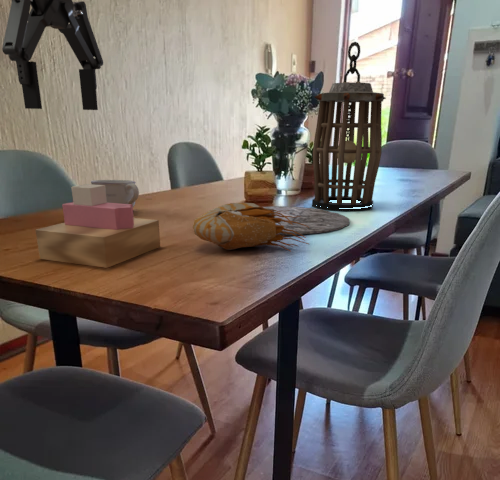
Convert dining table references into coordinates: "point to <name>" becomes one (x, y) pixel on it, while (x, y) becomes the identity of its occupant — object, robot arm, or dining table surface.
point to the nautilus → (242, 226)
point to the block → (97, 243)
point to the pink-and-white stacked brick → (96, 209)
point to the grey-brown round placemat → (309, 220)
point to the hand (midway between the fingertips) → (63, 109)
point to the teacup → (119, 191)
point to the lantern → (347, 143)
